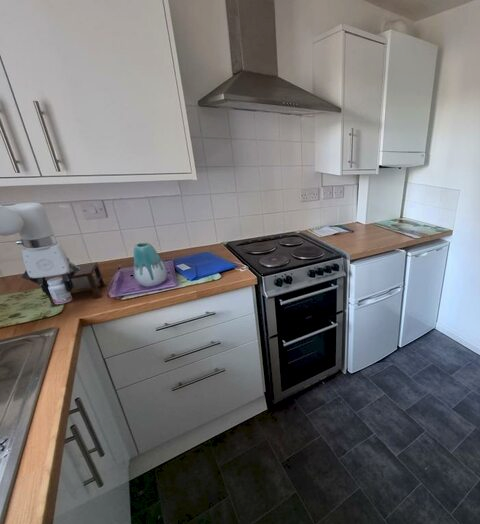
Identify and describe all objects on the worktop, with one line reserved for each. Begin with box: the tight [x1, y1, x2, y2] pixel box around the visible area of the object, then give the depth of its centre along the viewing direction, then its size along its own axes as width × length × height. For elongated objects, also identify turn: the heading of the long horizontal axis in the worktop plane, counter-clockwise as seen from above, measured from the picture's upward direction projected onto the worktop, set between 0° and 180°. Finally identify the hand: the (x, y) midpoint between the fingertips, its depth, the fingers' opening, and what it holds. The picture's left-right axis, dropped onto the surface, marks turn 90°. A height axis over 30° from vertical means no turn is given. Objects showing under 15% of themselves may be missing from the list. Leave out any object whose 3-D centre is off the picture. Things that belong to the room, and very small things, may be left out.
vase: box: [133, 242, 168, 288], centre depth 124 cm, size 12×12×18 cm
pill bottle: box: [47, 277, 73, 305], centre depth 103 cm, size 5×5×8 cm
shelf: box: [45, 261, 106, 307], centre depth 116 cm, size 14×12×11 cm
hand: (59, 291), depth 103 cm, fingers closed on pill bottle, 4 cm apart
